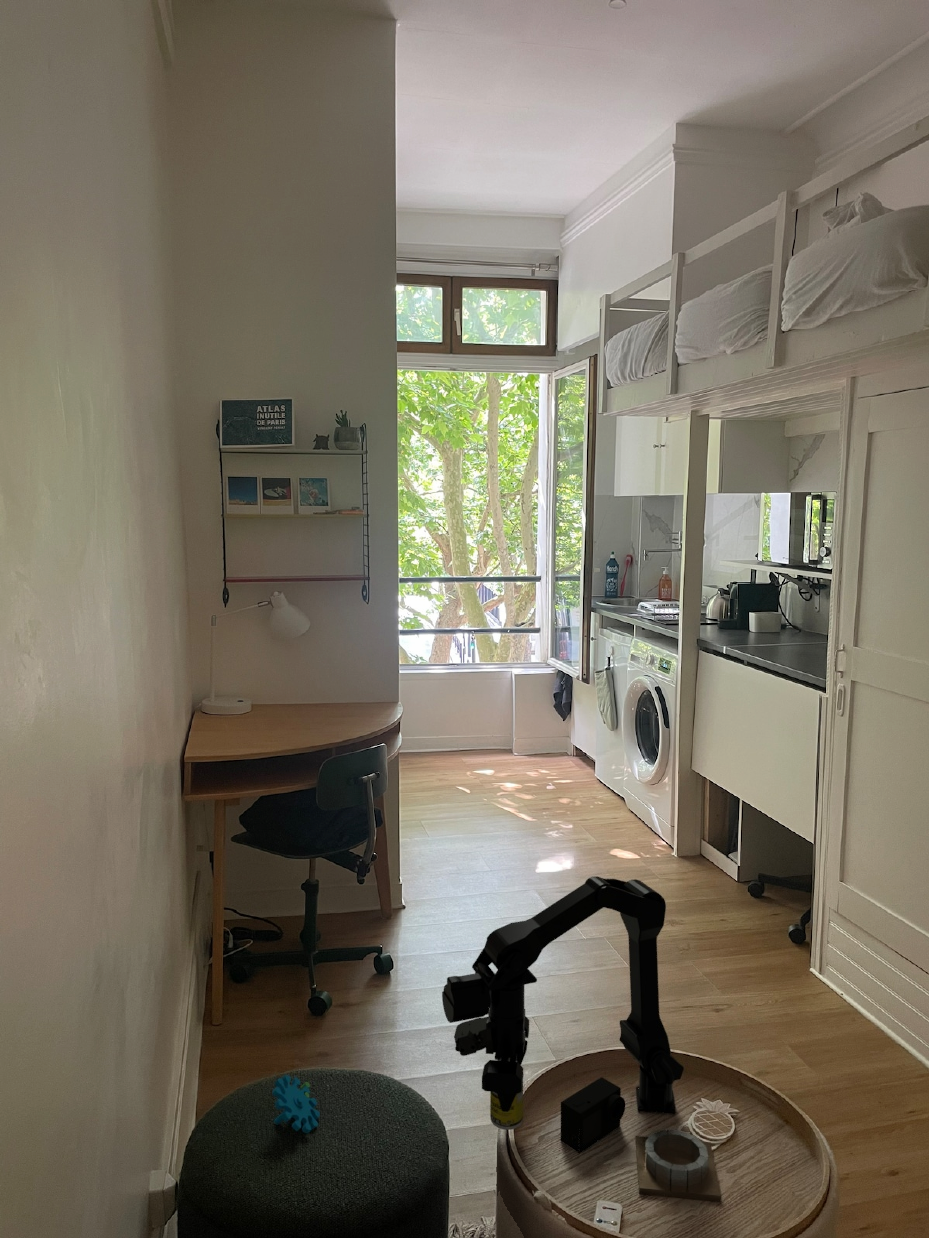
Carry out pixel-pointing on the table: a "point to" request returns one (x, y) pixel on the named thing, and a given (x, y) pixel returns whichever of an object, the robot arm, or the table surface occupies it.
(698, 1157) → the collar holder
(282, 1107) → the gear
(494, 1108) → the supplement bottle
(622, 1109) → the digital camera
